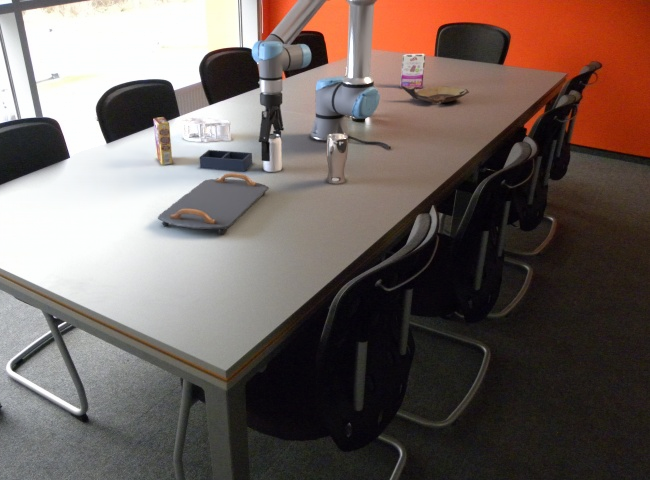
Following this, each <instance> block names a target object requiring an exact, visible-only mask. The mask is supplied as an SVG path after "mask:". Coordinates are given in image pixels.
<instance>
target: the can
mask: <svg viewBox="0 0 650 480" xmlns="http://www.w3.org/2000/svg"><path fill="white" fill-rule="evenodd" d="M269 142H270V161H262V164H263V165H262V166H263V167H262V168H263V170H264V172H267V173H278V172H280V171H281V170H282V168H283V167H282V165H283V163H282V161H283V160H282V137H281V138H280V135H279V134H273V133H270V137H269Z"/></svg>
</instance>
